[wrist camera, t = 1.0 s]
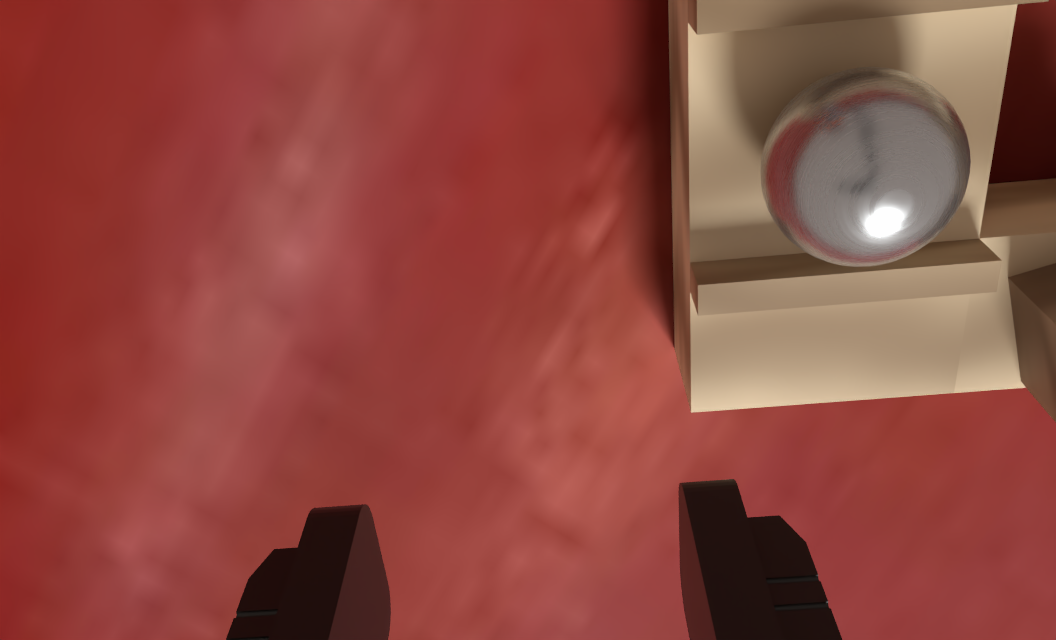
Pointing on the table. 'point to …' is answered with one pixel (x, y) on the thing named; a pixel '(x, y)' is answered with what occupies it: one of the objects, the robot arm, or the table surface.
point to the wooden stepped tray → (816, 285)
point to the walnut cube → (1036, 332)
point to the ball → (865, 166)
